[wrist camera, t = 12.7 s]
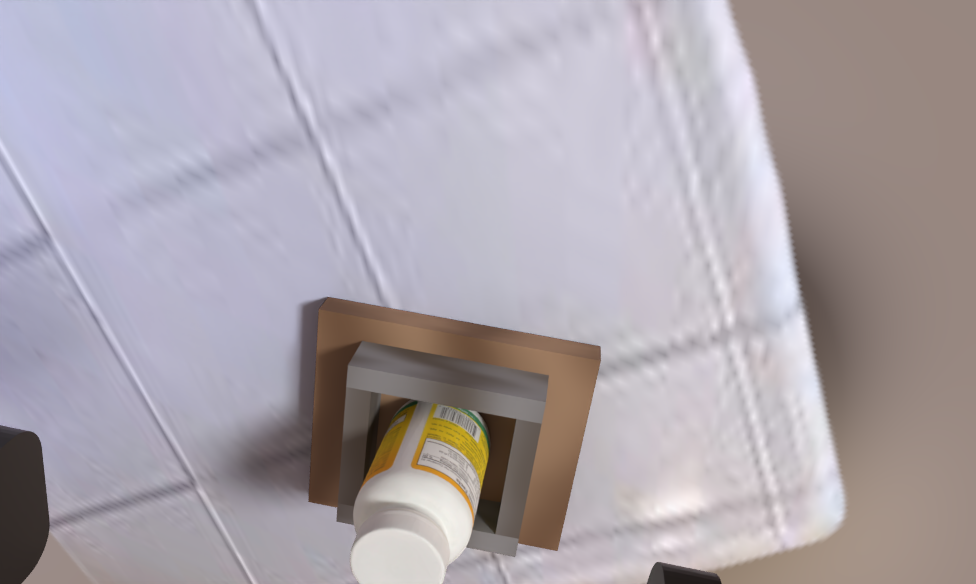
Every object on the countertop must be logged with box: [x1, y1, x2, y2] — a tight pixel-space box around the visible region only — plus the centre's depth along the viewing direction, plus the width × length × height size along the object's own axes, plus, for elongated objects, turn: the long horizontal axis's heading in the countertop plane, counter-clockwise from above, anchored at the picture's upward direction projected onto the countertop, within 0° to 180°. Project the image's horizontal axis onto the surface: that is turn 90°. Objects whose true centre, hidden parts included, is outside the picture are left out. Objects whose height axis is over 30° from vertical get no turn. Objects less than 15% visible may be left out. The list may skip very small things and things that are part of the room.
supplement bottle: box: [350, 399, 490, 584], centre depth 36 cm, size 5×5×10 cm
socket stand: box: [308, 297, 601, 557], centre depth 40 cm, size 14×12×4 cm
